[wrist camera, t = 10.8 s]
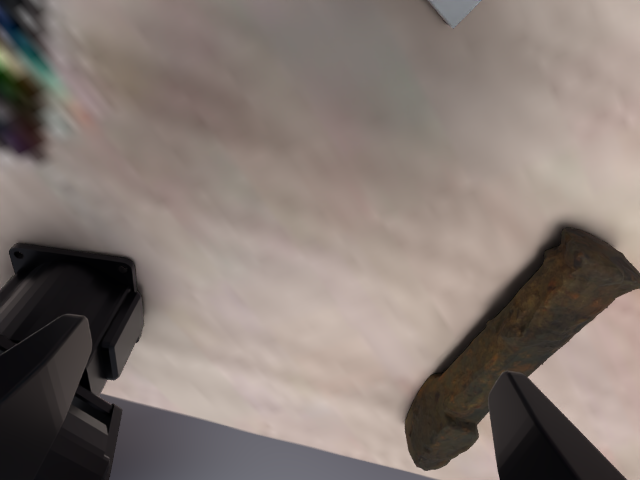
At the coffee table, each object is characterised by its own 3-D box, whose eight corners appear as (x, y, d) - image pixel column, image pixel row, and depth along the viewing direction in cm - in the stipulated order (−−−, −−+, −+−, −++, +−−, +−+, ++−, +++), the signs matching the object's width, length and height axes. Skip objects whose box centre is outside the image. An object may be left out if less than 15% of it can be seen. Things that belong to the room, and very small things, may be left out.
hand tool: (560, 211, 23) (606, 268, 19) (618, 241, 24) (673, 300, 20) (372, 408, 33) (377, 471, 29) (418, 423, 33) (429, 487, 30)
